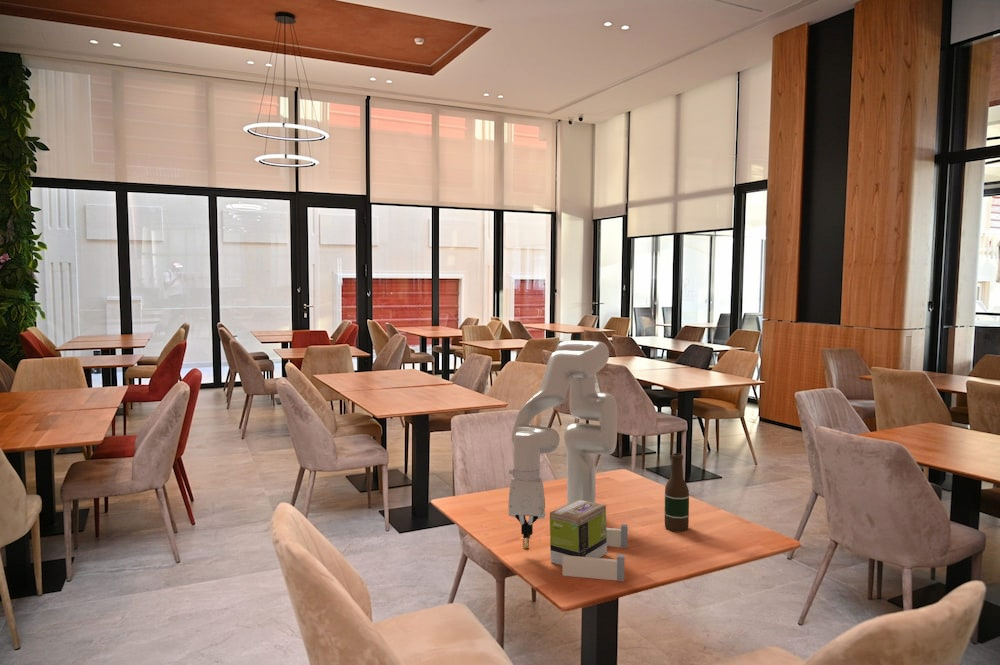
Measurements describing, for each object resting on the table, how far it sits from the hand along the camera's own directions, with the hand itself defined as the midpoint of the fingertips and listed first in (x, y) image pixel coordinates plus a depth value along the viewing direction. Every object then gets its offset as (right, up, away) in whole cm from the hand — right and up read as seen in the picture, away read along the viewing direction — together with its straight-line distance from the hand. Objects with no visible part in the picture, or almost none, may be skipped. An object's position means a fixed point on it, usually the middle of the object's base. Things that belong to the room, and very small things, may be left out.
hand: (527, 536), depth 193 cm
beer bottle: (+49, -4, +21) cm, 53 cm away
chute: (+19, -5, -4) cm, 21 cm away
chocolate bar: (0, -5, +11) cm, 12 cm away
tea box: (+15, -6, -3) cm, 16 cm away
